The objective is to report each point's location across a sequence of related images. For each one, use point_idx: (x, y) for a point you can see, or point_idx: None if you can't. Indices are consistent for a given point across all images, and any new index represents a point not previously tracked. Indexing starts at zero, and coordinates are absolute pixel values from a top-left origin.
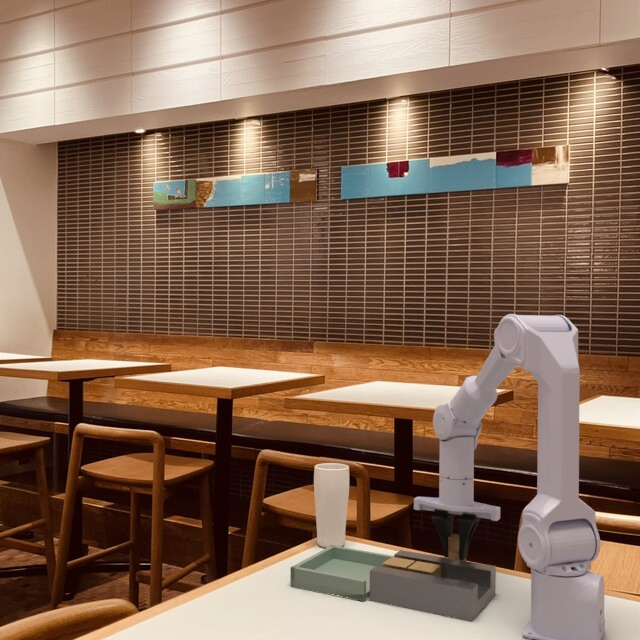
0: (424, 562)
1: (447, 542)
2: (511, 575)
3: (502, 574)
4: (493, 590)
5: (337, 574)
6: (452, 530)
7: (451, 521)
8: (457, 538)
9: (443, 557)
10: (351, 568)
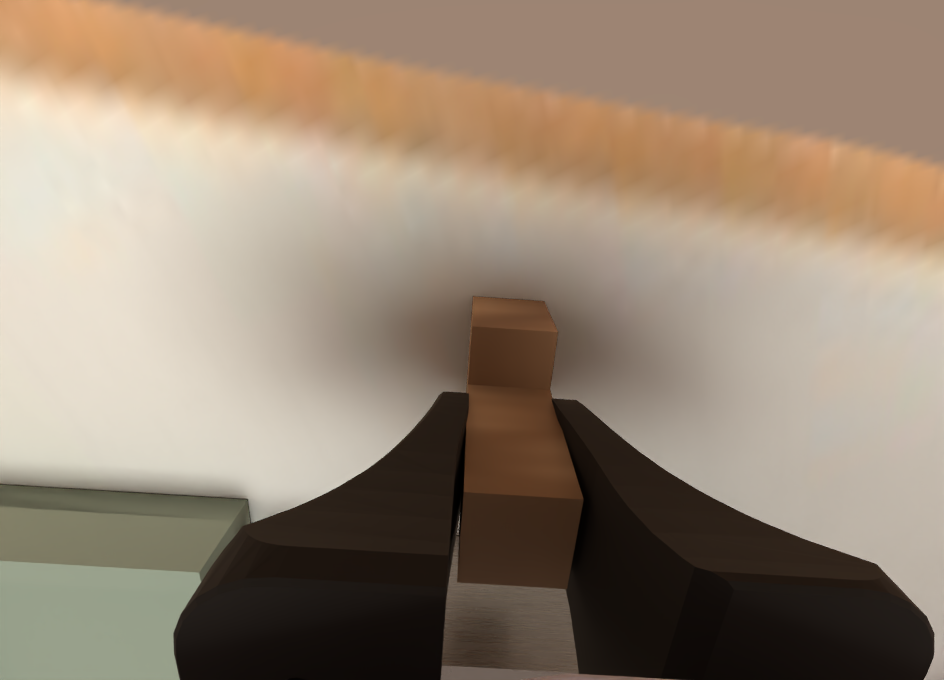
0: None
1: (453, 542)
2: (823, 244)
3: (766, 251)
4: None
5: (45, 676)
6: (454, 471)
7: (446, 592)
8: (545, 584)
9: (487, 671)
10: (36, 602)
